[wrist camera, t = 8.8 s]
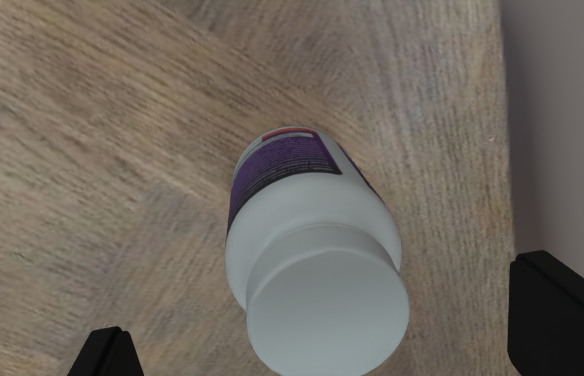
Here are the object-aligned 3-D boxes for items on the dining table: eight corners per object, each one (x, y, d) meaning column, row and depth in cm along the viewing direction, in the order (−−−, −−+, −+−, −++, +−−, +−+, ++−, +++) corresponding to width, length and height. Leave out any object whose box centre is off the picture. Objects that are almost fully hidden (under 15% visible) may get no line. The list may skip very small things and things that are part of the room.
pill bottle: (213, 209, 19) (179, 371, 10) (264, 102, 18) (277, 179, 9) (317, 253, 21) (370, 430, 12) (373, 155, 19) (484, 271, 10)
